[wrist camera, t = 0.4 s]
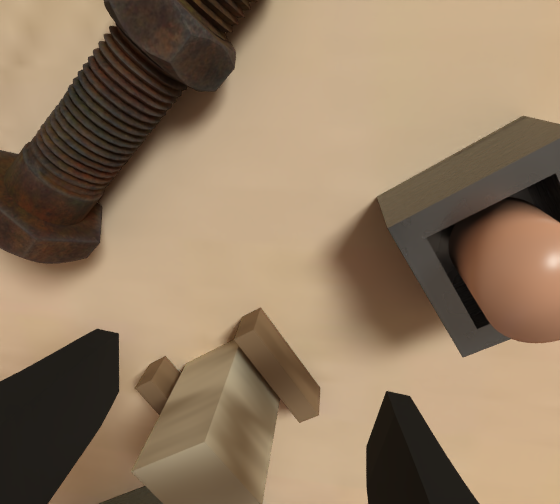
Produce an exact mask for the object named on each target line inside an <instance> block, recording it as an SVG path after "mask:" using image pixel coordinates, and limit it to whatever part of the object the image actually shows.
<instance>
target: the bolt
mask: <svg viewBox="0 0 560 504" xmlns="http://www.w3.org/2000/svg"><path fill="white" fill-rule="evenodd" d="M249 2H257V0H104V4H105V7H106V9H107V11H108V12H109V14H110V16H111V17H112V18H113V20H114V21H115V22H116V26H110V27H109V29H110V32H111V34H104V39H105V41H100V42H99V43H98V44H99V48H97V49H94V50H93V55H94V56H90V57H88V63H85V64H83V70H81V71H79V72H78V77H76V78H74V79H73V84H71V85H70V86H69V88H68V91H67V92H66V93H65V95H64V98H63V99H61V101H60V103H59V105H57V106H56V107H55V109H54V110H53V111H52V113H51V114H50V116H49V117H48V118H47V119H46V121H45V123H44V124H43V125H42V126H41V129H40V130H38V132H37V134H36V136H34V138H33V139H32V141H31V142H28V143H27V144H26V145H25V146H24V148H23V149H22V150H21V152H20V153H19V154H15V153H11V152H6V151H2V150H0V248H1V249H3V250H5V251H7V252H9V253H12V254H14V255H17V256H19V257H22V258H25V259H28V260H31V261H34V262H39V263H50V264H53V263H65V262H71V261H76V260H80V259H84V258H87V257H88V256H89V255H90V253H91V252H92V251H93V250H94V249H95V248H96V247H97V246H98V244H99V243H100V234H101V219H102V206H101V205H100V204H99V203H98V202H97V201H98V200H99V199H100V198H101V196H102V195H103V193H104V189H105V187H106V186H107V185H109V183H110V182H111V181H112V179H113V178H114V176H116V174H117V173H118V172H119V171H120V169H121V168H122V166H123V165H124V164H125V163H126V162H127V161H128V159H129V158H130V157H131V156H132V154H133V153H134V152H135V151H136V150H137V148H138V147H139V146H140V145H141V143H142V141H144V140H145V139H146V137H147V135H148V134H150V133H151V129H153V128H155V126H156V124H157V123H159V122H160V120H161V118H162V116H164V115H166V110H168V109H170V108H171V104H172V103H175V102H176V96H178V97H179V96H181V94H182V91H181V90H185V89H186V88H187V86H189V87H191V88H193V89H194V90H197V91H216V90H217V89H218V87H219V86H220V85H221V84H222V83H223V82H224V80H225V79H226V78H227V77H228V76H229V74H230V73H231V72H232V71H233V70H234V69H235V60H236V52H235V49H234V47H233V46H232V44H231V43H230V41H229V40H228V39H227V38H226V34H225V32H233V31H232V26H231V25H238V19H237V17H244V13H243V10H250V5H249Z"/></svg>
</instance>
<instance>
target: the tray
mask: <svg viewBox="0 0 560 504" xmlns="http://www.w3.org/2000/svg"><path fill="white" fill-rule="evenodd" d="M100 504H163V503H162V502H161V501H160V500H159V499H158V498H157V497H156V496H155V495H154V494H153V493H152V492H151V491H150V490H149V489H148V488H147V487H146V486H144V487H142V488H139V489H137V490H134V491H131V492H129V493H126V494H123V495H121V496H118V497H116V498H113V499H110V500H108V501H105V502H103V503H100Z"/></svg>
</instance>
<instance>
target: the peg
mask: <svg viewBox="0 0 560 504" xmlns="http://www.w3.org/2000/svg"><path fill="white" fill-rule="evenodd" d="M279 401H280V398H279V396H278V395H277V394H276V392H275V391H274V390H273V389H272V387H271V386H270V385H269V384H268V382H267V381H266V380H265V378H264V377H263V376H262V375H261V373H260V372H259V371H258V370H257V368H256V367H255V366H254V364H253V363H252V362H251V361H250V359H249V358H248V357H247V356H246V354H245V353H244V352H243V350H242V349H241V348H240V347H239V345H238V344H237V343H236V342H235V340H233V341H231V342H228V343H226V344H224V345H222V346H220V347H218V348H216V349H214V350H212V351H210V352H208V353H206V354H204V355H202V356H200V357H198V358H196V359H194V360H192V361H190V362H188V363H186V365H185V367H184V369H183V371H182V373H181V375H180V377H179V379H178V381H177V383H176V385H175V386H174V388H173V390H172V392H171V394H170V396H169V398H168V400H167V402H166V404H165V406H164V408H163V410H162V412H161V414H160V416H159V418H158V420H157V422H156V424H155V426H154V428H153V430H152V432H151V434H150V435H149V437H148V439H147V441H146V443H145V445H144V447H143V449H142V451H141V453H140V455H139V457H138V459H137V461H136V463H135V465H134V467H133V469H132V471H131V472H132V473H133V474H134V475H135V476H136V477H137V478H138V479H139V480H140V481H141V482H142V483H143V484H144V485H145V486H146V487H147V488H148V489H149V490H150V491H151V492H152V493H153V494H154V495H155V496H156V497H157V498H158V499H159V500H160V501H161V502H162V503H163V504H262V502H263V496H264V490H265V484H266V478H267V472H268V467H269V461H270V455H271V449H272V443H273V437H274V431H275V425H276V419H277V413H278V407H279Z"/></svg>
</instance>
